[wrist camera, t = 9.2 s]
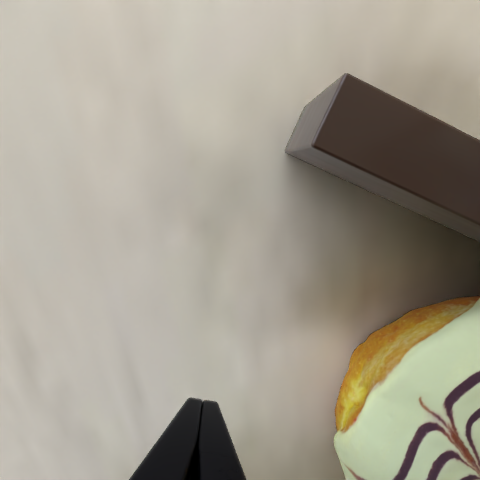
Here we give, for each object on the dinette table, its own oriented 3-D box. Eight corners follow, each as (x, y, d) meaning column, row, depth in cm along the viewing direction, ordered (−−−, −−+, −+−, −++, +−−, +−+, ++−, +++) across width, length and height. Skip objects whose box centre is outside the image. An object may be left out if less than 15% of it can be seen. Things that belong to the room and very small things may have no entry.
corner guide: (455, 589, 15) (519, 715, 12) (129, 493, 13) (91, 610, 10) (722, 307, 11) (942, 373, 7) (304, 105, 9) (345, 70, 6)
